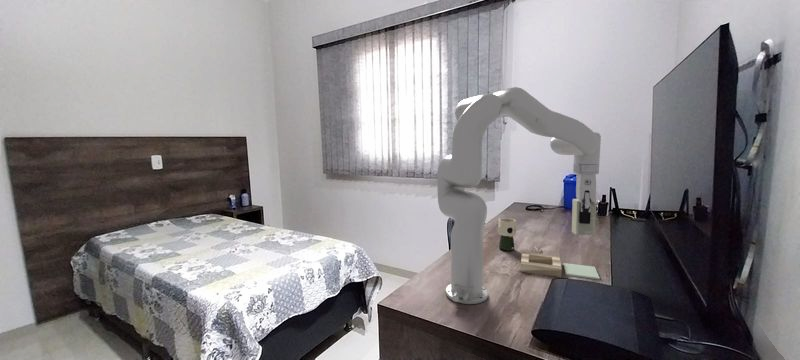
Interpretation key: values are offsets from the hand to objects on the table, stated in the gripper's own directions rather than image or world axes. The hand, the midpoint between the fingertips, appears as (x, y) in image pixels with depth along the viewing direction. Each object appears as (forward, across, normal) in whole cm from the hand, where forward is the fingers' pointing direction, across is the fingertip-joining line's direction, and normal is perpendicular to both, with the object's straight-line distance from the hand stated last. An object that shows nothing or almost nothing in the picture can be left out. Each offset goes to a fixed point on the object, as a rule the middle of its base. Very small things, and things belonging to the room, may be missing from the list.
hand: (583, 220), depth 108 cm
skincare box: (+5, 0, 0) cm, 5 cm away
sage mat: (+18, 0, 0) cm, 18 cm away
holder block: (+18, -1, +13) cm, 23 cm away
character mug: (+19, +15, +26) cm, 35 cm away
